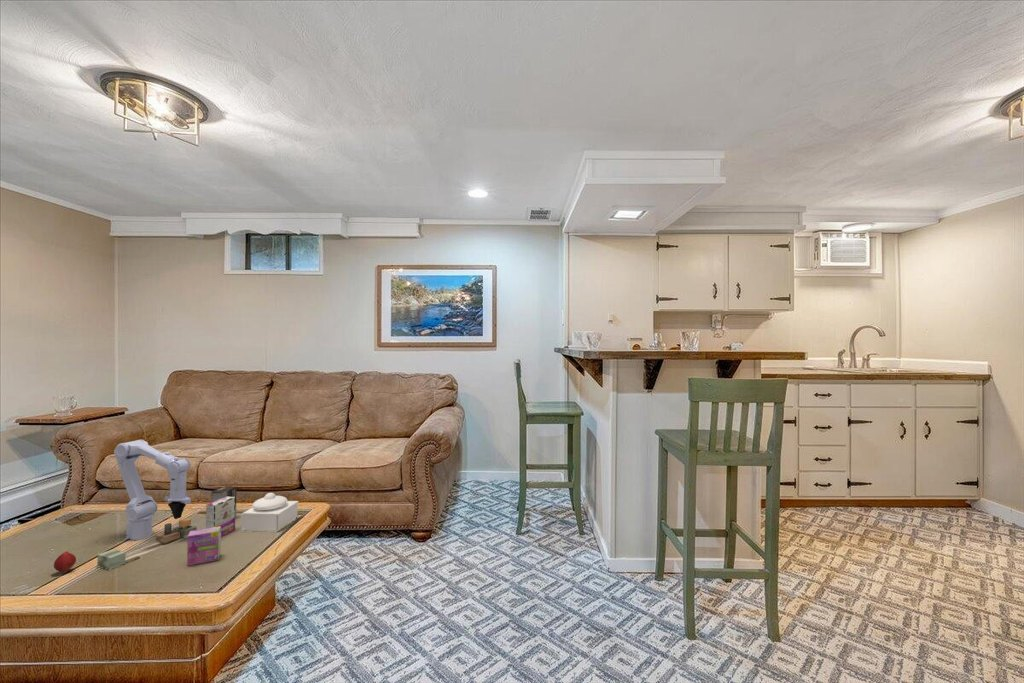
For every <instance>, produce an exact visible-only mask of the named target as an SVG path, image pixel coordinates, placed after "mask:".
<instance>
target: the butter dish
mask: <svg viewBox="0 0 1024 683" xmlns="http://www.w3.org/2000/svg"><path fill="white" fill-rule="evenodd" d="M298 504H299V500H288V499H287V497H285V496H282V495H276V494H275V493H274V492H268V493H266V494H265V495H264V497H261V498H258V499H256V500H255V501H254V502H253V503H252V507H251V508H249V509H247V510H246V511H243V512H242V513H241V515H240V530H242V531H258V530H278V529H279V528H280V527H282V526H283V525H285V524H286V523H288V522H289V521H291V520H292V519H294V518H295V517H297V518H298Z"/></svg>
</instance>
